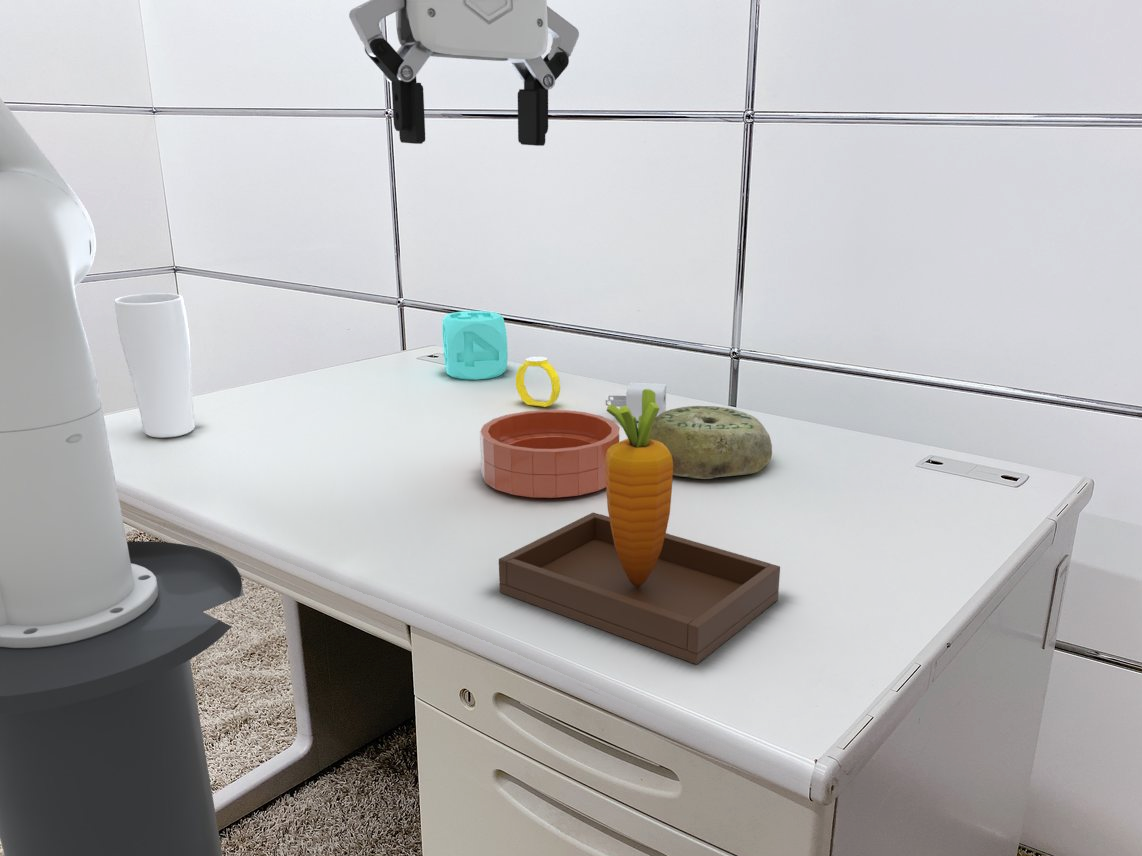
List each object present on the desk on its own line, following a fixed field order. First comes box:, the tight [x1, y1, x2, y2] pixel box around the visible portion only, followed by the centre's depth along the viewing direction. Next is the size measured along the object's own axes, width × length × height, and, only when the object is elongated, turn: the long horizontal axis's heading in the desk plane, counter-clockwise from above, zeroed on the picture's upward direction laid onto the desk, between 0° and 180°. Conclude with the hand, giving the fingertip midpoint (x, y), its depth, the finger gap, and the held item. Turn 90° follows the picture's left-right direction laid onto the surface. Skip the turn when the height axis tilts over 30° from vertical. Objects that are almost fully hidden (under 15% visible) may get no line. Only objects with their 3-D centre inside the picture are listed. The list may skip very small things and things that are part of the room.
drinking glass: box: [113, 292, 196, 439], centre depth 107 cm, size 7×7×15 cm
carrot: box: [605, 389, 674, 587], centre depth 71 cm, size 5×5×15 cm
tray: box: [498, 512, 781, 665], centre depth 73 cm, size 18×12×3 cm, turn 55°
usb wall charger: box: [605, 382, 667, 422], centre depth 117 cm, size 4×7×4 cm, turn 83°
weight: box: [650, 405, 773, 480], centre depth 102 cm, size 14×13×5 cm
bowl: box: [479, 409, 621, 499], centre depth 97 cm, size 14×14×5 cm
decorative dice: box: [441, 310, 509, 381], centre depth 135 cm, size 8×8×8 cm
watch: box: [515, 356, 562, 408], centre depth 121 cm, size 6×3×6 cm, turn 58°
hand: (474, 143), depth 73 cm, fingers open, 9 cm apart
